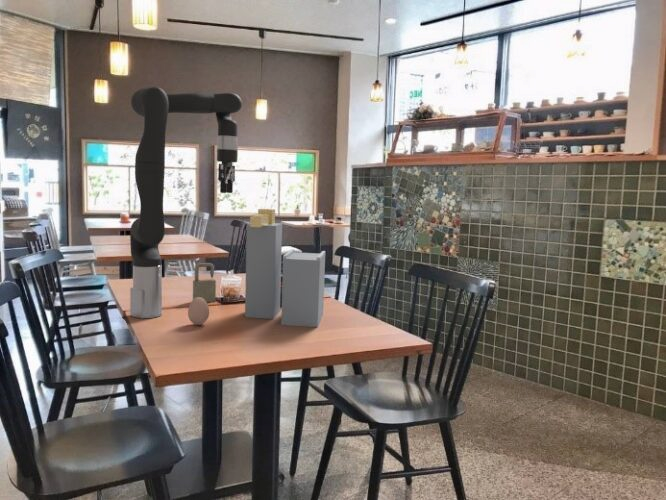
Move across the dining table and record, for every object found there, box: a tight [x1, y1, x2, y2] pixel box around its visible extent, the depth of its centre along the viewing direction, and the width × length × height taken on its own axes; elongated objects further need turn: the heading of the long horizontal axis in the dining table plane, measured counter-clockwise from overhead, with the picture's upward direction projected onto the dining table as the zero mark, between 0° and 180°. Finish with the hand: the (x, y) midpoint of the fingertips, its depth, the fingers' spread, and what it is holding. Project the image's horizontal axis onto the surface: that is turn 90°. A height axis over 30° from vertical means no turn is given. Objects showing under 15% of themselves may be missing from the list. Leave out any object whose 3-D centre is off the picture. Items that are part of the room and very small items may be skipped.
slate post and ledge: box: [244, 222, 326, 328], centre depth 187 cm, size 20×26×32 cm
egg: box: [187, 297, 210, 326], centre depth 175 cm, size 7×7×9 cm
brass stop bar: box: [249, 208, 276, 227], centre depth 184 cm, size 20×5×5 cm, turn 175°
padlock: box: [192, 262, 217, 303], centre depth 209 cm, size 4×8×15 cm, turn 119°
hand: (226, 192), depth 204 cm, fingers open, 8 cm apart
